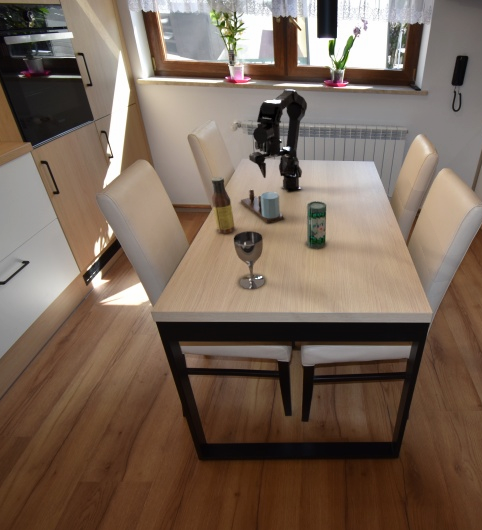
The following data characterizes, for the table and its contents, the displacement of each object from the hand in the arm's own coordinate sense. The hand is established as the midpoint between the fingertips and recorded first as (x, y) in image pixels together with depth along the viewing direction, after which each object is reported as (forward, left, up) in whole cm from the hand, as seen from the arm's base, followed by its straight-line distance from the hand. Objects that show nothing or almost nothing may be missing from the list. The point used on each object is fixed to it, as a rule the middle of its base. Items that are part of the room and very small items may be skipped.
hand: (274, 175), depth 159 cm
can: (+6, +39, -12) cm, 41 cm away
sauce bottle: (+28, +12, -12) cm, 33 cm away
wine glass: (+35, +47, -12) cm, 60 cm away
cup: (+9, +12, -10) cm, 18 cm away
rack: (+9, +4, -12) cm, 16 cm away
